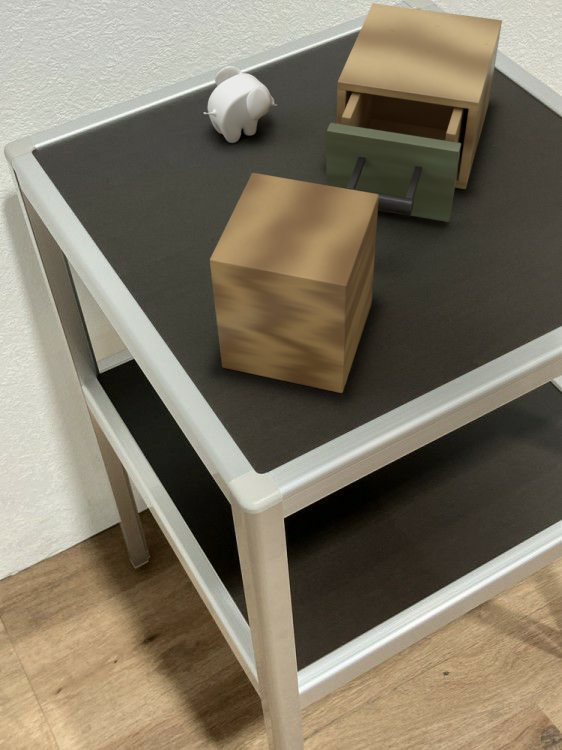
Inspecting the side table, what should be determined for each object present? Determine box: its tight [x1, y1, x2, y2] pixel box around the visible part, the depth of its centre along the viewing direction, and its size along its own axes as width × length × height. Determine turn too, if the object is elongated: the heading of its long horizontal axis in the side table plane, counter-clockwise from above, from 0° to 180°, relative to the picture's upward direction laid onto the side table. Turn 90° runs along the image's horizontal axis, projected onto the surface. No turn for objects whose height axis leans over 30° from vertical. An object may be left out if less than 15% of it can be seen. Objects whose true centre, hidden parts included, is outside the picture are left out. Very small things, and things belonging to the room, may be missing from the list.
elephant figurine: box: [203, 65, 278, 144], centre depth 95 cm, size 7×8×6 cm
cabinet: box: [336, 3, 503, 190], centre depth 92 cm, size 14×13×10 cm
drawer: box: [325, 91, 469, 223], centre depth 87 cm, size 18×11×8 cm, turn 163°
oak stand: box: [209, 172, 379, 394], centre depth 75 cm, size 10×10×12 cm
